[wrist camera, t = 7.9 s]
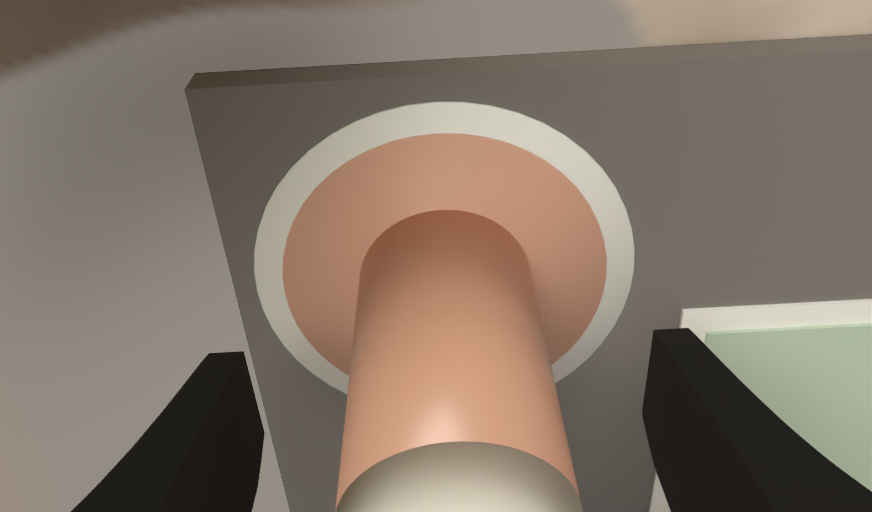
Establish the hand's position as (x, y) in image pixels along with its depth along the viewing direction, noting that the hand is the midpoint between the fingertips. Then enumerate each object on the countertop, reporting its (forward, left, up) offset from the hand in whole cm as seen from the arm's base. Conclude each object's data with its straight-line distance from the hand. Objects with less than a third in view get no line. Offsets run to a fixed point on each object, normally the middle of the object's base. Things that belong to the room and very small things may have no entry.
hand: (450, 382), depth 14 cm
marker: (0, 0, -3) cm, 3 cm away
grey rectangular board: (-2, -4, -4) cm, 7 cm away
